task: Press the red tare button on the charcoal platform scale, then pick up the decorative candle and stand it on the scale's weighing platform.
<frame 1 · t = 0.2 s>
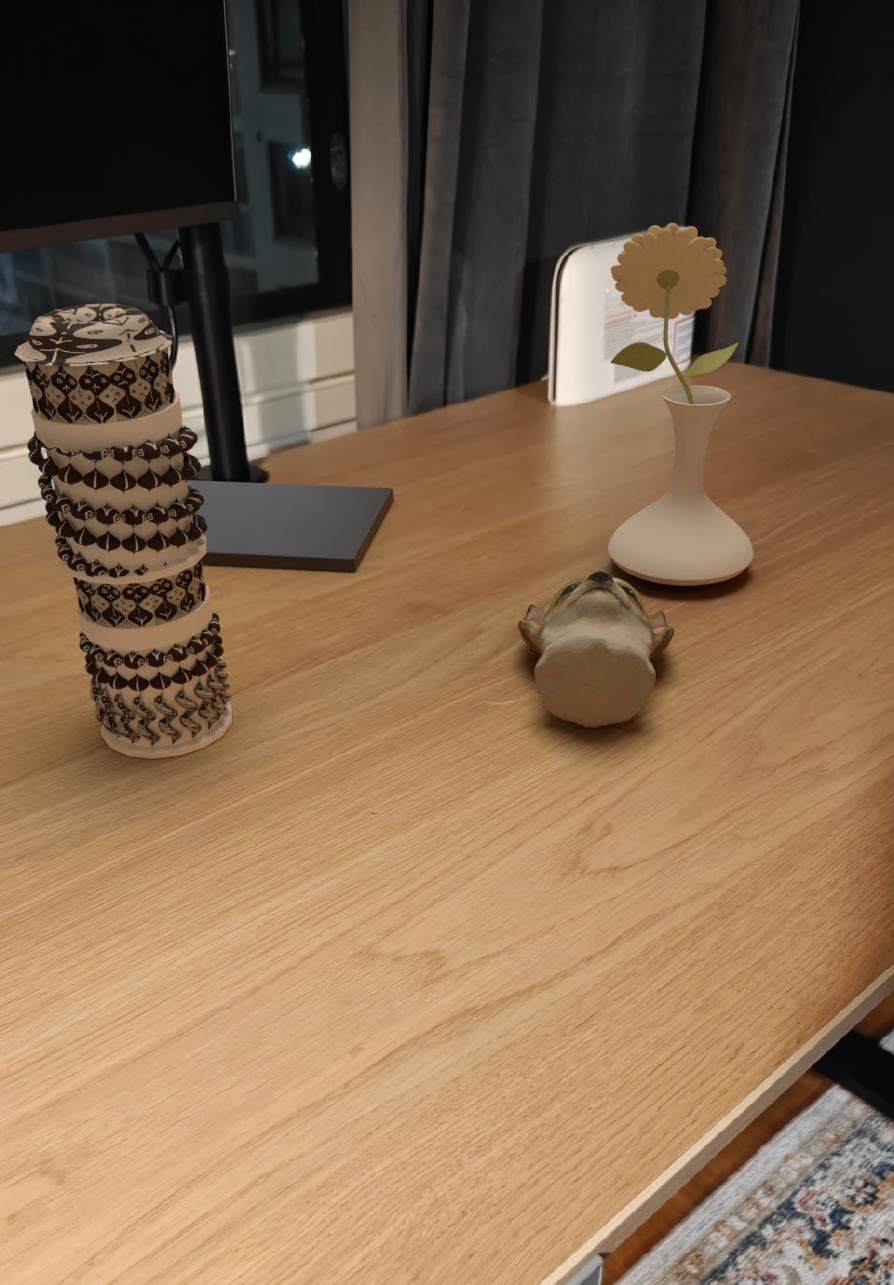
scale: (253, 529, 100), on the table
tare button: (135, 506, 95), point 3 cm above the table, slide at 0.1 cm
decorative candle: (167, 725, 73), on the table
flower in vase: (668, 569, 91), on the table
ceramic sculpture: (592, 689, 76), on the table
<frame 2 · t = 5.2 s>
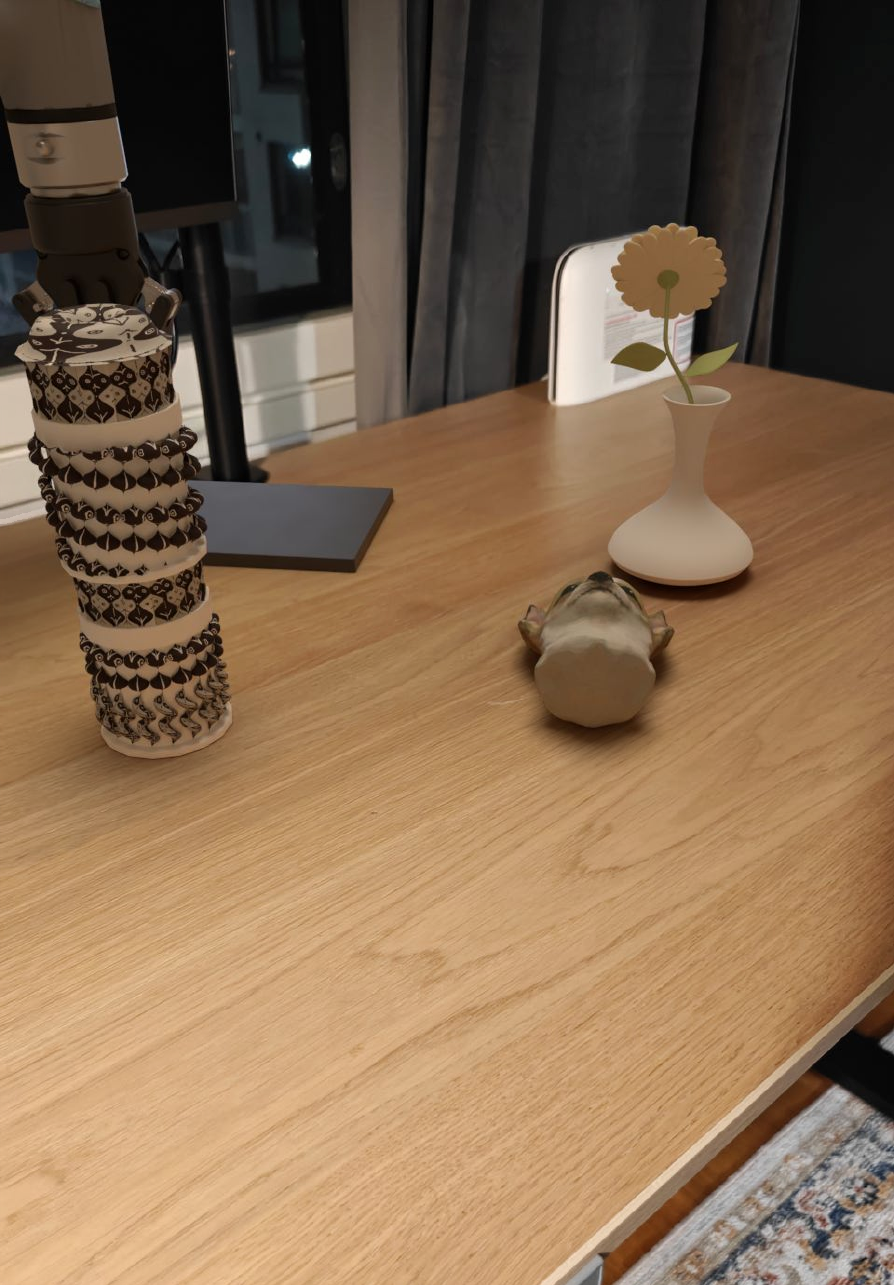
hand: (136, 503, 95), 4 cm above the table, tool pointing down, fingers closed
tare button: (137, 516, 96), point 3 cm above the table, slide at -0.8 cm, touching gripper
everything else where it was.
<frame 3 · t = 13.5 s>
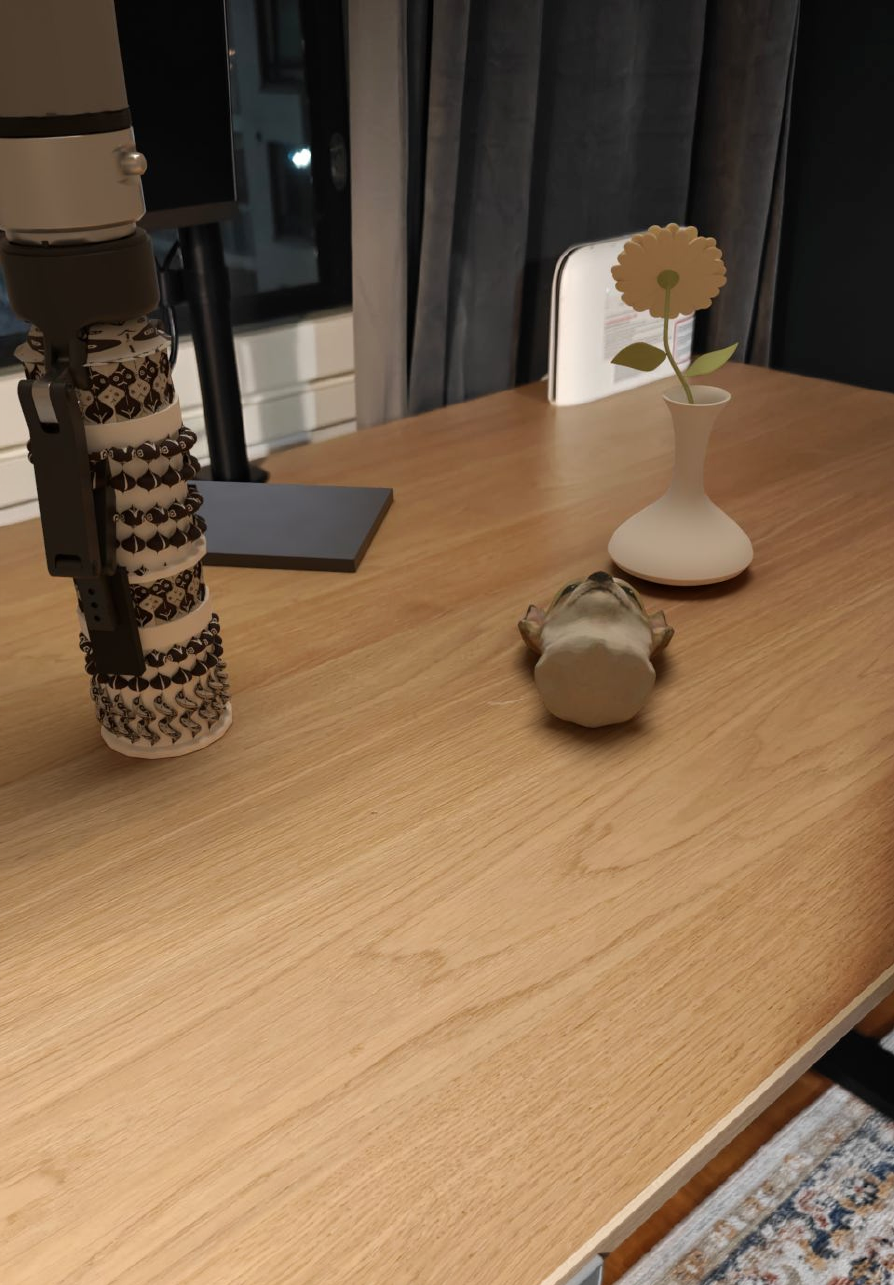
hand: (150, 635, 70), 6 cm above the table, tool pointing down, fingers closed on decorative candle, 8 cm apart
tare button: (135, 506, 95), point 3 cm above the table, slide at 0.1 cm
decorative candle: (167, 725, 73), on the table, touching gripper
everything else where it was.
when the fingers open (8 cm above the table, at t = 21.2 s): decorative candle stays where it is, resting on scale.
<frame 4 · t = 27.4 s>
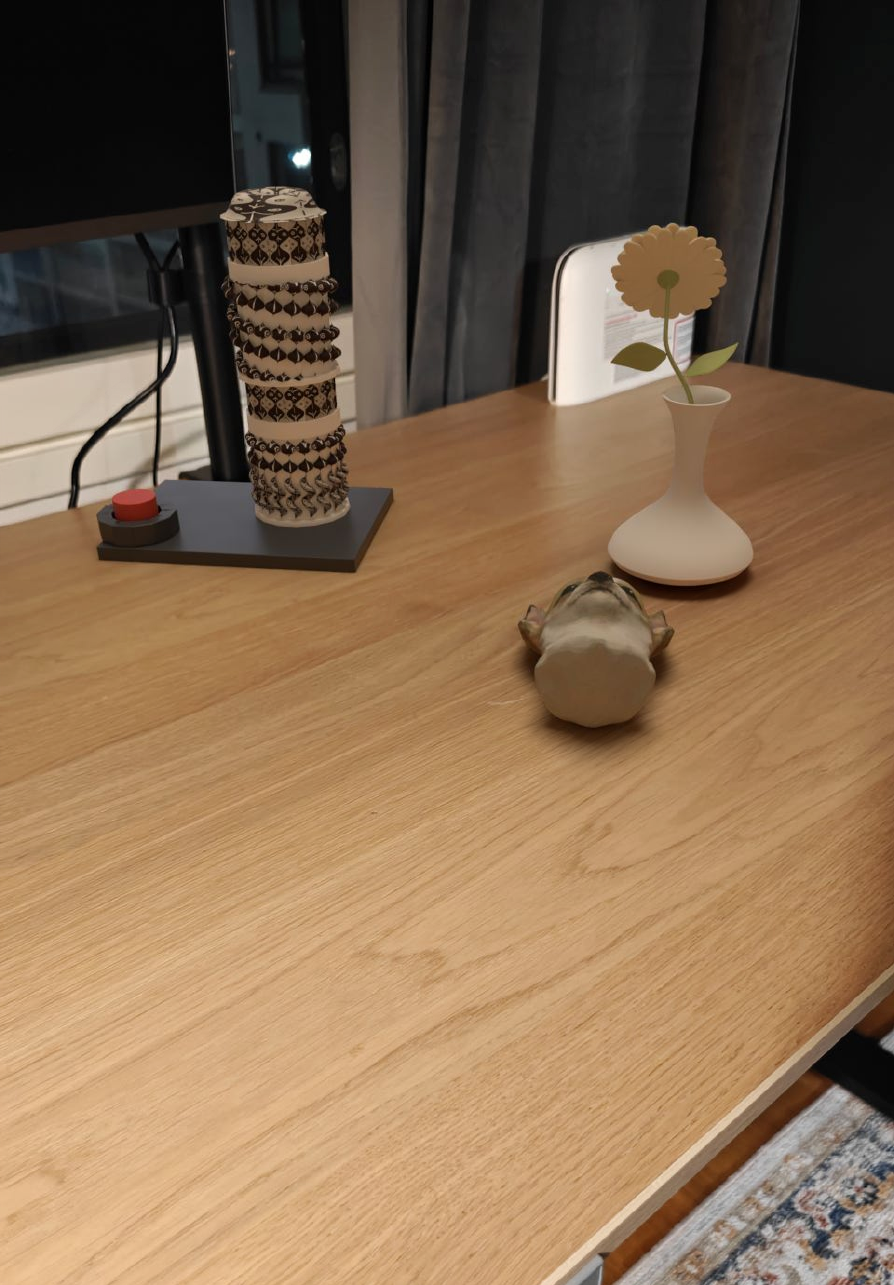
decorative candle: (302, 511, 100), point 1 cm above the table, touching scale
everything else where it was.
at the end: tare button pushed in 1.0 cm at the most during the clip, back to where it started at the end; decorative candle inside the target area on the scale (0.8 cm from its centre), point 1.0 cm above the scale's base; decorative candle touching scale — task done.
